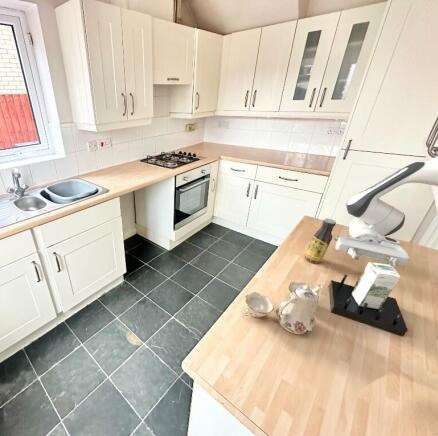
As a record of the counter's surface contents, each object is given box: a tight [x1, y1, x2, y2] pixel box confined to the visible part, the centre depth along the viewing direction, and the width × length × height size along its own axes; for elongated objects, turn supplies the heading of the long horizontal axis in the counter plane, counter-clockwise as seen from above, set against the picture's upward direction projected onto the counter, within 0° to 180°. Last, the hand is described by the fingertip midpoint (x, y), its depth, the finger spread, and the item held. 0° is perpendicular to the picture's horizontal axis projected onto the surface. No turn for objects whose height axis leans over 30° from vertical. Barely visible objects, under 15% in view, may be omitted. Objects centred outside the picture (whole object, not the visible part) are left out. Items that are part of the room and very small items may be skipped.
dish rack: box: [328, 274, 409, 337], centre depth 80 cm, size 18×14×8 cm
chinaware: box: [243, 281, 323, 336], centre depth 77 cm, size 28×17×17 cm, turn 111°
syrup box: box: [352, 261, 402, 309], centre depth 77 cm, size 6×6×14 cm
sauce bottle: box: [304, 218, 337, 264], centre depth 100 cm, size 7×6×20 cm
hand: (373, 261), depth 83 cm, fingers open, 8 cm apart
